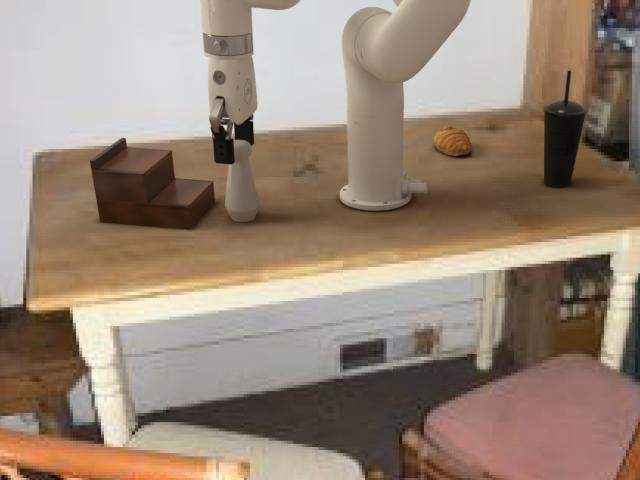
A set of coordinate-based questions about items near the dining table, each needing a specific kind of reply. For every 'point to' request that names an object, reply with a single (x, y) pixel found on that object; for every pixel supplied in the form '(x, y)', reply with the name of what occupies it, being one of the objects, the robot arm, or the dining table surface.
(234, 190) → the salt shaker
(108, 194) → the spice rack
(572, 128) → the drinking cup
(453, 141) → the pastry
